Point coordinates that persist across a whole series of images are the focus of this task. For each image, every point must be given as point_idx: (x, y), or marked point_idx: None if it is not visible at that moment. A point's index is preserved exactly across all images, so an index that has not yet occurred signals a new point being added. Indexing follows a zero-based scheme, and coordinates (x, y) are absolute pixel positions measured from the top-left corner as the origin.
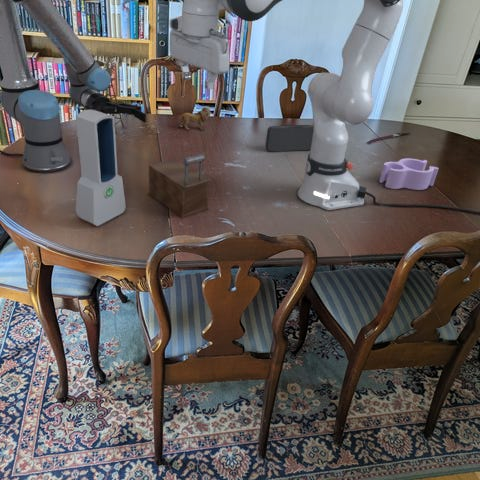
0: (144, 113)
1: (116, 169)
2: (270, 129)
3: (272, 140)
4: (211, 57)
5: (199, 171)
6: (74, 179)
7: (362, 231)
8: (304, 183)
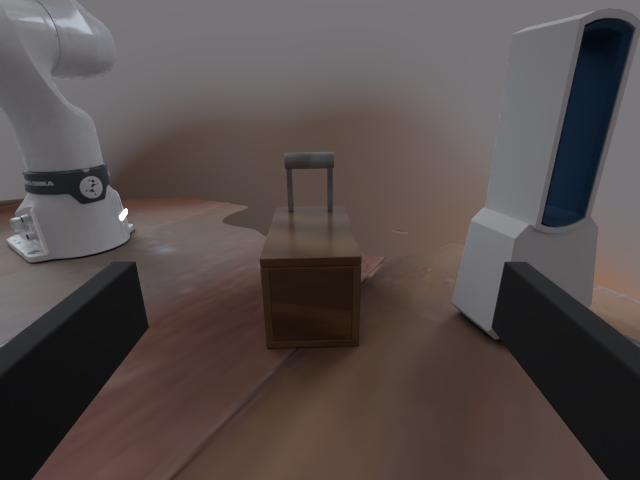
0: (102, 271)
1: (489, 189)
2: None
3: None
4: None
5: (292, 193)
6: None
7: (166, 210)
8: (101, 221)
